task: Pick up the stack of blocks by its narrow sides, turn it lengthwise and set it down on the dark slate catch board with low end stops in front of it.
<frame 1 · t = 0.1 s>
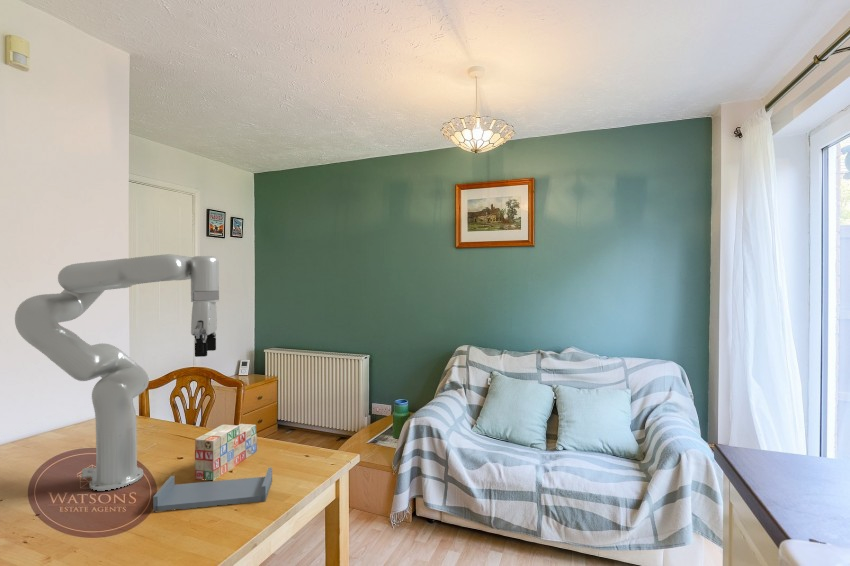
hand: (205, 353, 125), 37 cm above the table, tool pointing down, fingers open, 9 cm apart
catch board: (217, 495, 113), on the table
stack of blocks: (228, 465, 132), on the table
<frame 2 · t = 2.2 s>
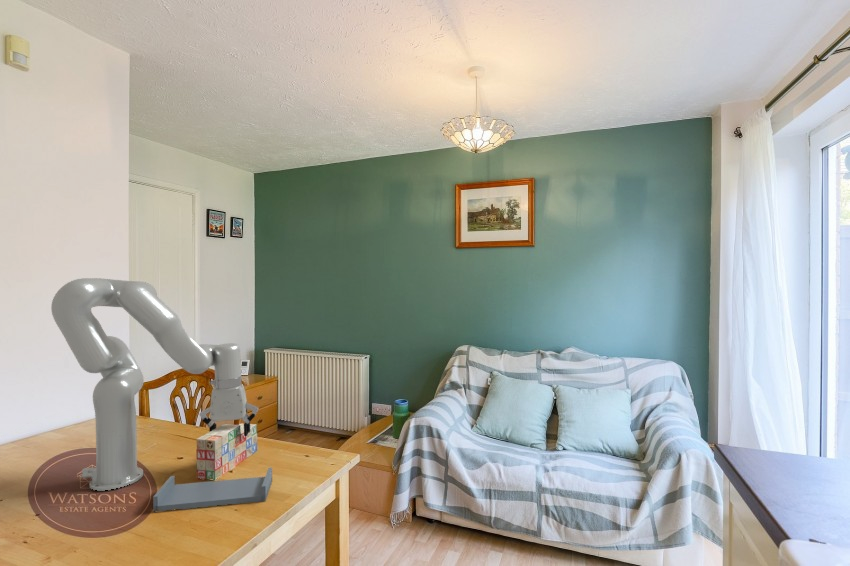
hand: (230, 436, 132), 9 cm above the table, tool pointing down, fingers open, 9 cm apart
stack of blocks: (229, 464, 132), on the table, touching gripper
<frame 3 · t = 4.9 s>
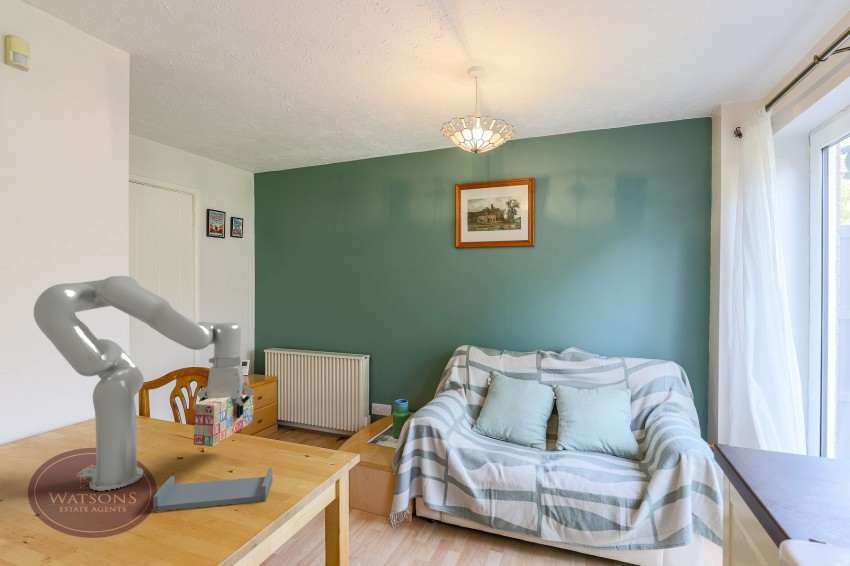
hand: (225, 417, 131), 15 cm above the table, tool pointing down, fingers closed on stack of blocks, 7 cm apart
stack of blocks: (225, 433, 132), point 10 cm above the table, touching gripper
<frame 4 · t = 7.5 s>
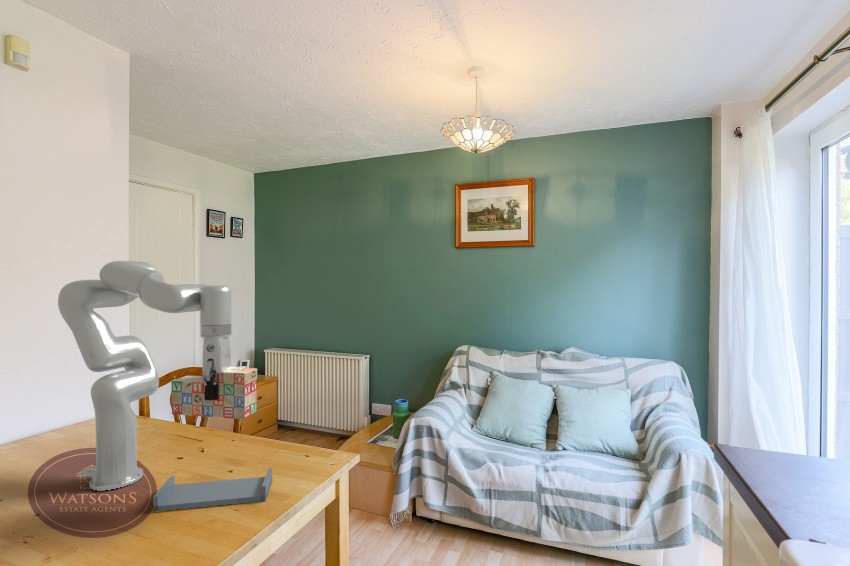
hand: (216, 394, 113), 28 cm above the table, tool pointing down, fingers closed on stack of blocks, 7 cm apart
stack of blocks: (214, 414, 113), point 22 cm above the table, touching gripper
when the fingers open (8 cm above the table, at t = 11.9 s): stack of blocks drops 1 cm, resting on catch board.
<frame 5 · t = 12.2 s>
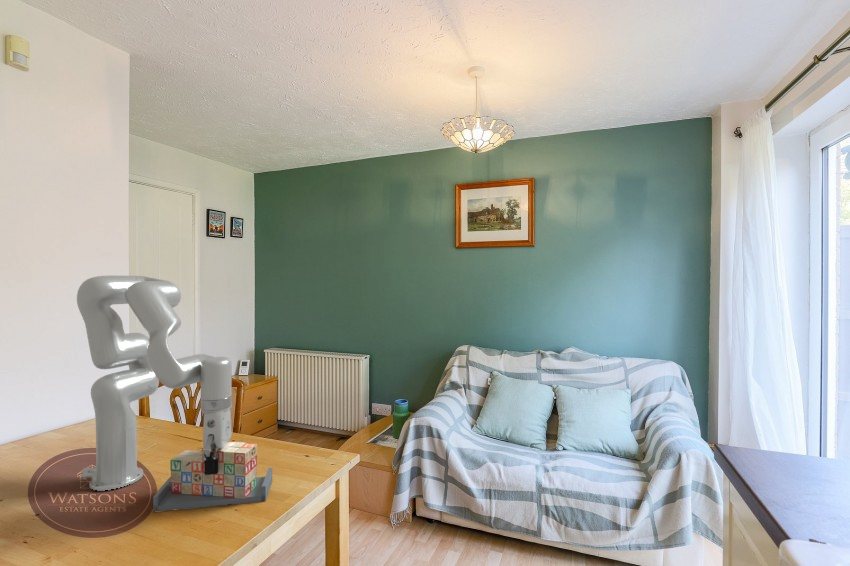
hand: (216, 465, 113), 8 cm above the table, tool pointing down, fingers open, 9 cm apart
stack of blocks: (214, 491, 113), point 1 cm above the table, touching catch board
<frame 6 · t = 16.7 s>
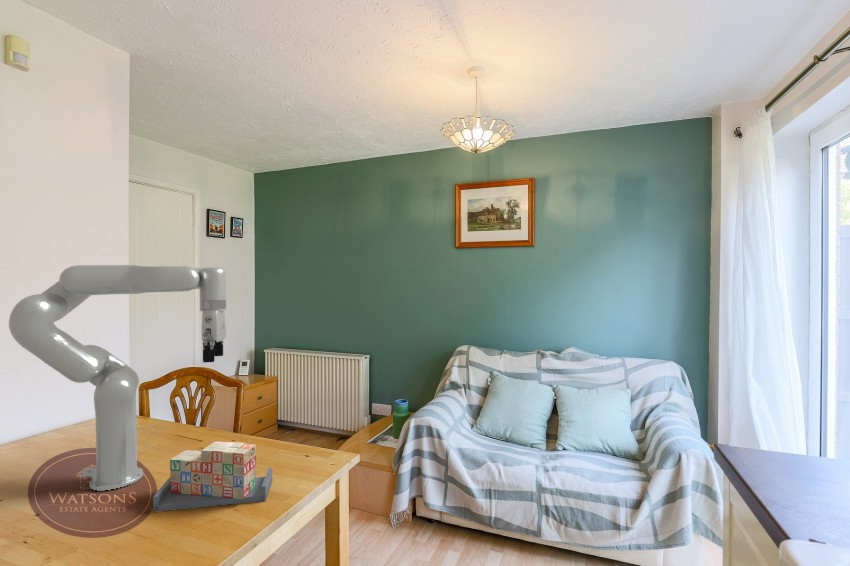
hand: (213, 358, 133), 33 cm above the table, tool pointing down, fingers open, 9 cm apart
nothing on the table moved.
at the end: stack of blocks inside the target area on the catch board (0.8 cm from its centre), point 1.3 cm above the catch board's base; stack of blocks tilted 0°; the gripper is holding nothing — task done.
